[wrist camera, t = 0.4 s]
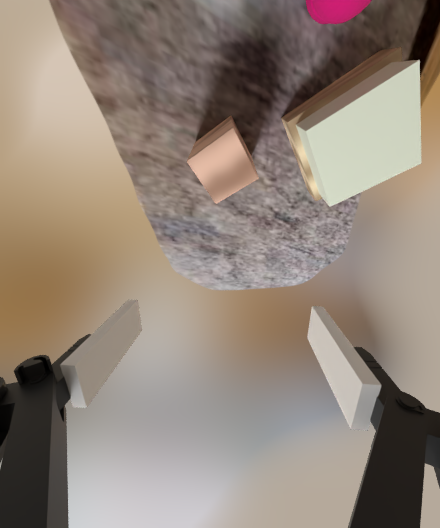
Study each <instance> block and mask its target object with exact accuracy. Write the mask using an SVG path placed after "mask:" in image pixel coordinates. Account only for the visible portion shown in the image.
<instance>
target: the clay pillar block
mask: <svg viewBox="0 0 440 528" xmlns="http://www.w3.org/2000/svg"><path fill="white" fill-rule="evenodd" d="M187 163H188V164H189V165H190V167H191V168H192V170H193V171H194V173H195V174H196V176H197V177H198V178H199V180H200V181H201V183H202V184H203V186H204V187H205V189H206V190H207V192H208V193H209V194H210V196H211V197H212V199H213V200H214V202H215V203H216V204H217V203H218V202H220V201H222V200H223V199H225V198H227V197H228V196H230V195H232V194H233V193H235V192H237V191H239V190H240V189H242V188H244V187H245V186H247V185H249V184H250V183H252V182H254V181H255V180H257V179H259V178H258V175H257V172H256V169H255V166H254V163H253V160H252V157H251V155H250V153H249V151H248V149H247V147H246V145H245V143H244V141H243V139H242V137H241V135H240V133H239V131H238V128H237V126H236V124H235V122H234V120H233V118H232V116H229V117H228V118H227V119H225V120H224V121H223V122H221V123H220V124H219V125H217V126H216V127H215V128H213V129H212V130H211V131H209V132H208V133H207V134H205V135H204V136H203V137H201V138H200V139H199V140H198V141H196V142H195V144H194V146H193V149H192V151H191V153H190V155H189V157H188V160H187Z"/></svg>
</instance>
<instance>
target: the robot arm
mask: <svg viewBox="0 0 440 528" xmlns="http://www.w3.org/2000/svg"><path fill="white" fill-rule="evenodd" d="M141 331H142V327H141V320H140V314H139V306H138V300H127V301H126V302H125V303H124V304H123V305H122V306H121V307H120V308H119V309H118V310H117V311H116V312H115V313H114V314H113V315H112V316H111V317H109V319H107V320H106V321H105V322H104V323H103V324H102V325H101V326H100V327H99V328H98V329H97V330H96V331H95V332H94V333H93V334H88V335H86V336H85V337H83V338H81V339H79V340H78V341H77V342H76V343H75V344H74V345H73V347H71V348H70V349H69V350H68V351H67V352H65V353H64V354H63V355H62V356H61V357H60V358H59V359H58V360H56V361H55V362H54V363H53V364H52V365H51V362H50V359H49V357H48V356H46V355H39V356H35V357H32V358H30V359H27V360H26V361H24V362H22V363H21V364H20V365H18V366H17V367H16V369H15V370H14V373H15V375H16V378H17V380H18V382H16V383H11V384H5V381H4V379H3V378H1V377H0V462H1V460H2V458H3V460H2V465H1V469H0V528H68V485H67V483H68V482H67V433H66V431H67V430H66V408H65V404H66V403H67V402H68V400H69V399H71V402H72V405H73V407H81V408H87V407H88V405H89V404H90V403H91V401H92V399H93V398H94V397H95V396H96V394H97V393H98V391H99V390H100V389H101V387H102V386H103V384H104V383H105V382H106V380H107V379H108V377H109V376H110V374H111V373H112V372H113V370H114V369H115V367H116V366H117V364H118V363H119V362H120V360H121V359H122V357H123V356H124V355H125V353H126V352H127V351H128V349H129V348H130V346H131V345H132V344H133V342H134V341H135V339H136V338H137V337H138V335H139V334H140V332H141ZM308 340H309V342H310V344H311V347H312V349H313V351H314V353H315V355H316V357H317V359H318V361H319V363H320V366H321V368H322V370H323V372H324V374H325V376H326V378H327V380H328V383H329V385H330V387H331V389H332V391H333V393H334V395H335V397H336V399H337V401H338V404H339V406H340V408H341V410H342V412H343V414H344V416H345V418H346V421H347V423H348V425H349V427H350V429H353V430H354V429H355V430H367V431H368V428H369V425H370V422H371V423H372V424H373V426H374V428H375V430H376V433H375V436H374V439H373V442H372V445H371V450H370V453H369V457H368V460H367V464H366V467H365V471H364V474H363V478H362V481H361V485H360V488H359V491H358V495H357V498H356V502H355V506H354V509H353V512H352V516H351V519H350V522H349V526H348V528H420V519H421V506H422V493H423V479H424V465H425V463H426V464H429V465H432V466H434V470H435V473H436V477H437V480H438V484H439V487H440V413H439V412H435V411H432V410H429V409H426V408H425V406H424V405H423V404H422V403H421V402H420V401H419V400H417V399H416V398H415V397H413V396H411V395H409V394H407V393H405V392H402V391H400V389H399V388H398V387H397V386H396V384H395V383H394V382H393V381H392V380H391V378H390V377H389V376H388V375H387V373H386V372H385V371H384V370H383V369H382V367H381V366H380V365H379V364H378V363H377V361H376V360H375V359H374V357H373V356H372V355H371V354H370V353H369V352H367V351H366V350H365V349H363V348H362V347H353V346H352V345H351V343H350V342H349V341H348V339H347V338H346V337H345V336H344V334H343V333H342V331H341V330H340V329H339V327H338V326H337V325H336V323H335V322H334V321H333V319H332V318H331V317H330V315H329V314H328V313H327V311H326V310H325V308H324V307H322V306H312V310H311V317H310V324H309V331H308Z"/></svg>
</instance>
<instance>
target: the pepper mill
mask: <svg viewBox="0 0 440 528" xmlns="http://www.w3.org/2000/svg"><path fill="white" fill-rule="evenodd" d="M371 1H372V0H306V5H307V9H308V12H309V14H310V16H311V17H312V18H313V19H314V20H315V21H316V22H318V23H320V24H329V23H331V24H339V23H343V22H346V21H348V20H350V19H352V18H353V17H355V16H356V15H357V14H359V13H360V12H361V11H362V10H363V9H364V8H365V7H366V6H367V5H368V4H369V3H370V2H371Z"/></svg>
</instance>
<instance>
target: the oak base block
mask: <svg viewBox="0 0 440 528" xmlns="http://www.w3.org/2000/svg"><path fill="white" fill-rule="evenodd" d="M401 61H402V47H397V48H391V49H385V50H380V51H379V52H377V53H376V54H374V55H373V56H371V57H370V58H368V59H367V60H365V61H364V62H362V63H361V64H360V65H358V66H357V67H355V68H354V69H352V70H351V71H349V72H348V73H346V74H345V75H343V76H342V77H340V78H339V79H338V80H336V81H335V82H333V83H332V84H330V85H329V86H327V87H326V88H324V89H323V90H321V91H320V92H318V93H317V94H315V95H314V96H313V97H311V98H310V99H308V100H307V101H305V102H304V103H302V104H301V105H299V106H298V107H296V108H295V109H293V110H292V111H291V112H289V113H288V114H286V115H285V116H283V117H282V118H281V119H282V121H283V124H284V127H285V129H286V132H287V135H288V137H289V140H290V143H291V146H292V148H293V151H294V154H295V156H296V159H297V162H298V164H299V167H300V170H301V173H302V175H303V178H304V181H305V183H306V186H307V189H308V191H309V193H310V194H311V195H312V197H313V198H314V199H315V201H318V200H320V199H322V197H321V195H320V194H319V192H318V189H317V186H316V183H315V180H314V177H313V174H312V171H311V168H310V165H309V162H308V159H307V156H306V153H305V150H304V148H303V145H302V142H301V139H300V136H299V133H298V130H297V127H296V124H298V123H299V122H301V121H302V120H304V119H305V118H307V117H308V116H310V115H311V114H313V113H314V112H316V111H318V110H319V109H321V108H322V107H324V106H325V105H327V104H328V103H330V102H331V101H333V100H334V99H336V98H337V97H339V96H341V95H342V94H344V93H345V92H347V91H348V90H350V89H351V88H353V87H354V86H356V85H357V84H359V83H361V82H362V81H364V80H365V79H367V78H368V77H370V76H371V75H373V74H374V73H376V72H377V71H379V70H381V69H382V68H384V67H385V66H387V65H388V64H390V63H391V62H401Z"/></svg>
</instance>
